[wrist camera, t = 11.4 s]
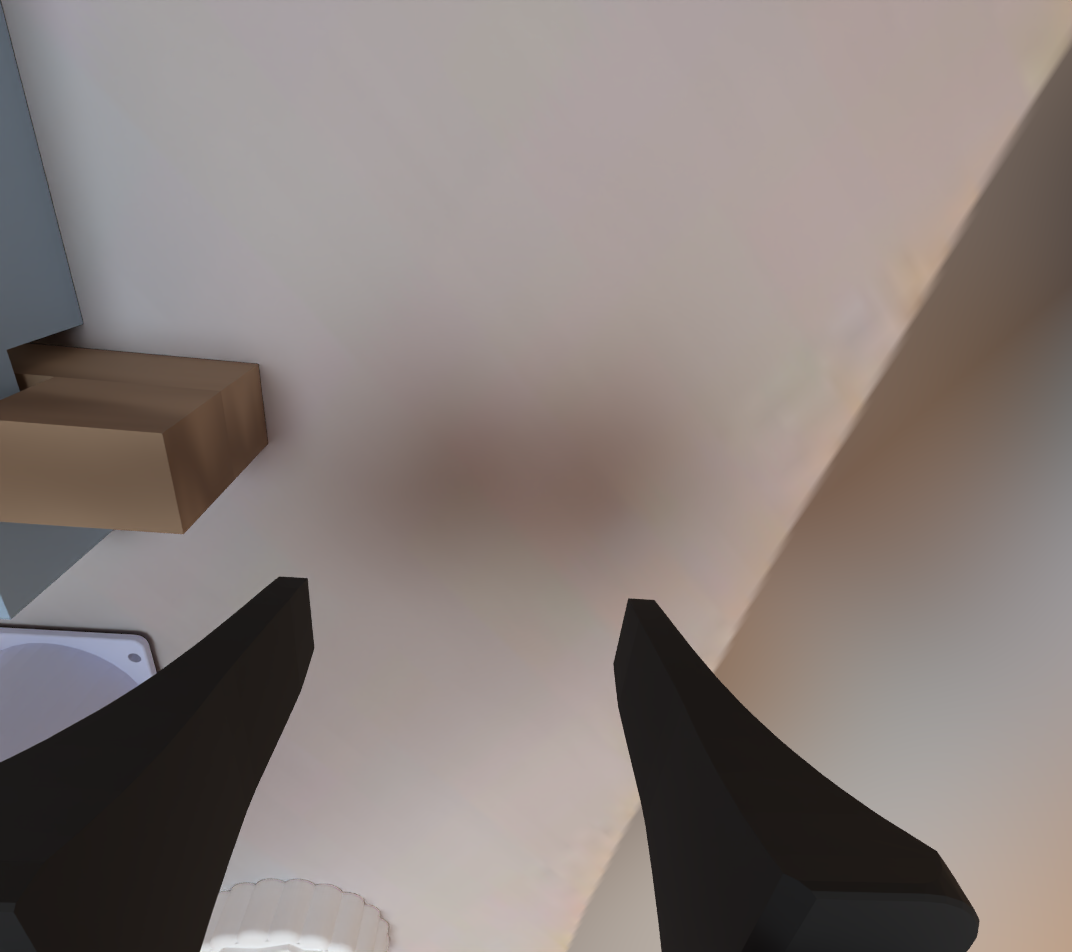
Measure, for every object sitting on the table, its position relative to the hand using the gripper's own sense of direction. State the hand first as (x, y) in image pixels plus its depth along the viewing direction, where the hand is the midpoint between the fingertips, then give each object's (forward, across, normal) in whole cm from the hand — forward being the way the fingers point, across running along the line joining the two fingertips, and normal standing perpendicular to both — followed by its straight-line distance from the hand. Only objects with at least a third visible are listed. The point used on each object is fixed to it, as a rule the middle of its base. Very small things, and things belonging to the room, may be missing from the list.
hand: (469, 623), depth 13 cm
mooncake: (+10, +10, +35) cm, 38 cm away
